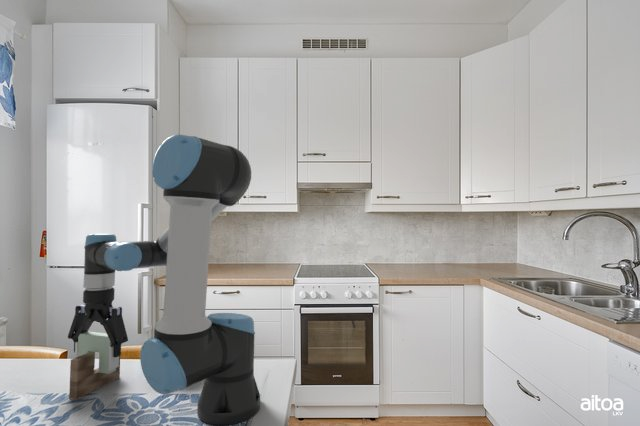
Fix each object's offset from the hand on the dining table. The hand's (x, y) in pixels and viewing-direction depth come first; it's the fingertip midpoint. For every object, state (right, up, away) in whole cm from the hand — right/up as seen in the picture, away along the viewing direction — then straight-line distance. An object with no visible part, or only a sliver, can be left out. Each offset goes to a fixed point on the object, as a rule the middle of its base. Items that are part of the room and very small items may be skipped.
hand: (96, 366), depth 98 cm
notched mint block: (0, -1, 0) cm, 1 cm away
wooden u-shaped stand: (0, -6, 0) cm, 6 cm away
